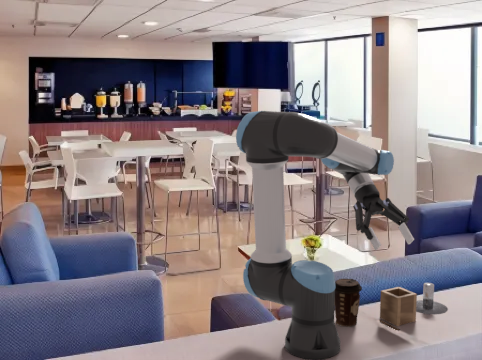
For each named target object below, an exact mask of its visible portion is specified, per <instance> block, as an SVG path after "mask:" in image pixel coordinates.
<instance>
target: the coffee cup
mask: <svg viewBox="0 0 482 360" xmlns="http://www.w3.org/2000/svg"><path fill="white" fill-rule="evenodd" d="M335 285H336V288H335V308H334V318H335V324H336V323H337V324H338V325H337V324H336V325H337V326H340V325H341V327H353V326H356V325H357V323H358V315H359V314H358V313H359V307H360V299H361V294H360V292H361V291H362V290H363V287H362V286H361V284H360V283H359V282H358V281H357V280H356V279H353V278H339V279H337V280H335Z"/></svg>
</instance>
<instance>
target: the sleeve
mask: <svg viewBox="0 0 482 360" xmlns="http://www.w3.org/2000/svg"><path fill="white" fill-rule="evenodd" d="M417 296H418V293H415V292H413V291H410V290H409V289H407V288H403V287H401V286H395V287H392V288H387V289H383V290H380V301H379V302H380V304H379V307H380V308H379V309H380V310H379V318H380V319H379V323H381V324H382V325H384V326H387V327H388V326H389V328H390V327H391V329H392V328H393V330H394V329H395V331H396V330H398V331H400V330H401V329H400V328H397V327H400V326H403V325H407V324H411V323H413V322H414V323H415V322H417V321H416V320H417V312H416V302H417V301H418V299H417ZM383 320H384V321H383ZM385 321H386V322H385Z"/></svg>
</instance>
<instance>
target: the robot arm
mask: <svg viewBox="0 0 482 360" xmlns="http://www.w3.org/2000/svg"><path fill="white" fill-rule="evenodd" d="M235 139H236V140H235V141H236V145H237V147H238V149H239V151H240V152H242V153H243V154H245V162H246V163H247V164H248V166H250V167H251V171H252V172H251V173H252V192H253V193H252V194H253V195H252V196H253V197H252V199H253V217H254V218H253V219H254V221H253V222H254V238H255V240H254V241H255V250H254V251H253V252H252V253H251V254H250V258H249V259H248V260H247V262H246V263H245V265H244V266H245V268H244V269H243V274H242V279H243V285H244V287H245V289H246V291H247V292H248V294H250V295H251V296H253V297H254V298H258V299H260V300H262V301H268V302H271V303H274V304H275V303H276V304H278V305H281V306H287V307H289V308H291V320H290V324H289V327H288V329H287V332H286V335H285V339H284V348H285V350H286V352H288V354H291V355H293V356H295V357H298V358H302V359H306V360H322V359H329V358H332V357H334V356H336V355H338V354H339V353H340V352H341V339H340V335H339V332H338V330H337V326H336V321H335V288H336V285H335V281H336V280H335V278H336V277H335V272H334V271H333V269H332V268H331V267H330V266H329V265H327V264H325V263H324V262H319V261H315V260H308V259H307V260H306V259H305V260H303V259H302V260H297V261H295V262H294V263H293V260H292V257H293V254H292V253H291V251H289V250H288V249H287V239H286V211H285V209H286V208H285V207H286V206H285V179H284V166H285V165H286V164H287V162H288V161H289V157H304V158H305V157H308V158H309V157H310V158H315V159H318V160H319V159H320V160H321V164H323V165H324V166H326V167H327V168H328V169H329V170H333V171H335V172H337V173H339V174H340V175H342V177H343V178H344V180H345V182H346V183H347V185H348V187H349V189H350V191H351V192H352V194H353V195H354V198H355V199H356V202H355V203H354V205H353V210H354V214H355V229H356V230H357V231H358V232H359V231H360V233H361V234H364V235H365V237H366V239H367V240H369V241H370V243H371V245H372V247H373V250H375V251H377V250H378V249H379V248H380V247H381V246H382V243H381V241H380V239H379V238H378V236H377V234H376V233H375V231H374V229H373V227H370V223H371V220H372V216H375V215H377V216H378V215H380V216H384V217H385V218H387V219H389V220H390V221H392V222H393V223H395V224H396V225H397V226H398V227H397V228H398V229H399V231H400V233H401V236H403V238H404V240H405V241H406V243H407V245H411V244H412V243H413V241H415V237H414V236H413V235H412V233H411V229H410V227H409V226H408V224H407V223H408V222H409V220H410V217H408V216H407V214H405V213H404V212H403V211H402V210H401V209H399V208H398V206H396V205H395V204H394V203H393V202H392V201H391V199H390V198H389V197H387V198H386V199H384V200H383V199H381V196H380V191H379V189H378V188H377V186H376V185H375V183H374V181H373V179H372V177H371V176H370V175H371V174H372V175H378V176H383V175H384V176H386V175H387V176H389V174H391V172H392V171H393V169H394V163H395V159H394V158H395V157H394V155H393V153H392V151H389V150H384V149H376V148H373V147H370V146H369V145H366V144H363V143H361V142H359V141H357V140H355V139H353V138H350V137H348V136H346V135H344V134H341V133H340V132H337V129H336V128H335V127H334V126H332V125H331V124H329V123H326V122H325V121H323V120H320V119H318V118H316V117H313V116H310V115H307V114H306V113H299V112H296V111H272V110H271V111H268V110H261V111H260V110H259V111H251V112H248V113H246V114H245V115H244V116H243V117H242V119H241V120H240V122H239V124H238V125H237V129H236V134H235ZM363 211H365V212H364V213H363Z"/></svg>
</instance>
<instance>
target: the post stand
mask: <svg viewBox="0 0 482 360" xmlns="http://www.w3.org/2000/svg"><path fill="white" fill-rule="evenodd" d="M422 288H423V289H422V292H423V293H422V300H420V299H419V300H417V302H416V313H418V314H419V313H420V314H425V315H441V314H445V313H446V312H448V310H449V308H448V307H447V305H445V304H443V303H441V302H437V301H435V299H434V298H435V297H434V295H435V294H434V293H435V284H434V283H432V282H424V283H423V287H422Z"/></svg>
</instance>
